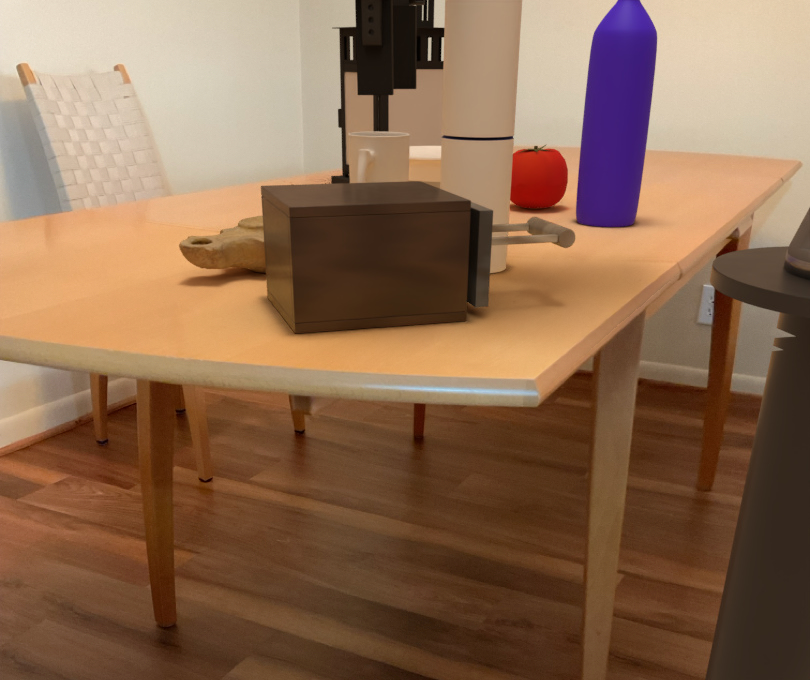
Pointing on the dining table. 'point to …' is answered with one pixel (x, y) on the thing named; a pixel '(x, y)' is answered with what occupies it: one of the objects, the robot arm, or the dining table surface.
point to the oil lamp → (229, 247)
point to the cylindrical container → (480, 106)
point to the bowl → (425, 164)
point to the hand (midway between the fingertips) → (389, 92)
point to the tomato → (538, 178)
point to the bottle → (616, 116)
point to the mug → (379, 157)
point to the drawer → (483, 241)
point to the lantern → (404, 108)
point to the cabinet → (365, 254)
